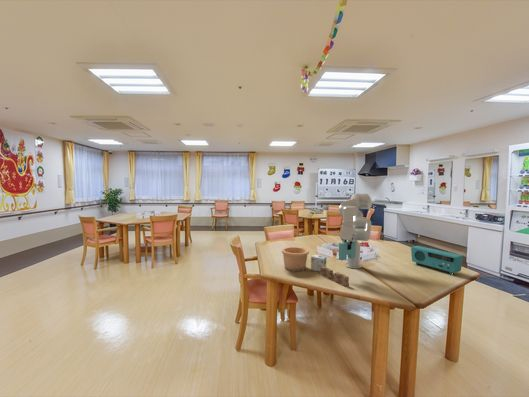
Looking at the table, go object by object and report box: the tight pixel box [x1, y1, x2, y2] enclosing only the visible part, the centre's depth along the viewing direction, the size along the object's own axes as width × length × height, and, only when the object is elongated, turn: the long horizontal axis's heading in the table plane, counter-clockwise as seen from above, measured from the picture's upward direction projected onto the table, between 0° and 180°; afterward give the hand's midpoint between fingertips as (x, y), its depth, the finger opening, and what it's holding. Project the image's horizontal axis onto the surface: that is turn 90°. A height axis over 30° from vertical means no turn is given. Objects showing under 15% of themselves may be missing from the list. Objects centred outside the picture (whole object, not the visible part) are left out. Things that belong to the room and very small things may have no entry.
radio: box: [410, 245, 464, 275], centre depth 192 cm, size 34×10×15 cm, turn 27°
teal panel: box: [338, 241, 356, 261], centre depth 174 cm, size 14×3×12 cm, turn 119°
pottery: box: [281, 246, 310, 272], centre depth 193 cm, size 22×22×14 cm
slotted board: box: [319, 266, 350, 287], centre depth 168 cm, size 24×3×6 cm, turn 29°
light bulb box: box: [310, 254, 327, 272], centre depth 188 cm, size 11×7×11 cm, turn 59°
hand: (347, 248), depth 174 cm, fingers closed on teal panel, 3 cm apart
